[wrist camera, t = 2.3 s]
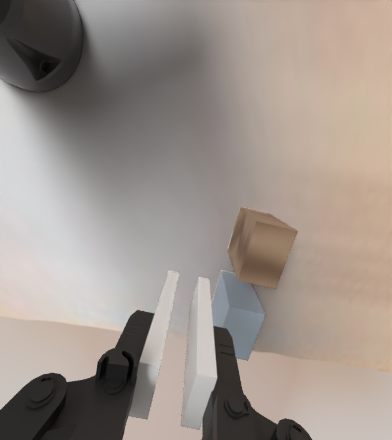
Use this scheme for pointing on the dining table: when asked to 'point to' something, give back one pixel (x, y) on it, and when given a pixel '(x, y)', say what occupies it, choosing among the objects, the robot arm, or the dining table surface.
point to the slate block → (237, 312)
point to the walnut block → (260, 247)
